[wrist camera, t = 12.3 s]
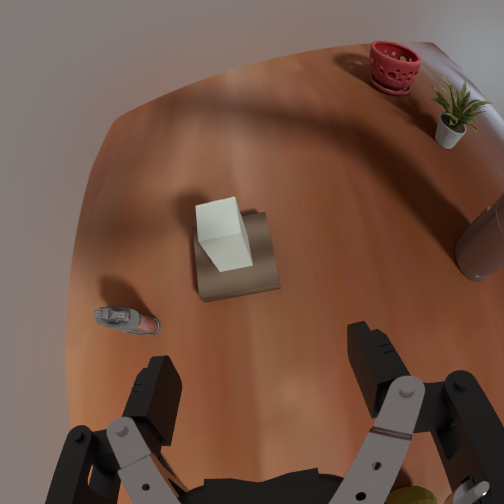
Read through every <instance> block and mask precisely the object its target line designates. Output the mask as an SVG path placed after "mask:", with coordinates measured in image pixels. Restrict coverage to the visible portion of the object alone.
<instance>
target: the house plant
mask: <svg viewBox="0 0 504 504" xmlns="http://www.w3.org/2000/svg"><path fill="white" fill-rule="evenodd" d="M441 76H442V75H441ZM442 77H443V76H442ZM443 78H444V77H443ZM444 79H445V78H444ZM445 80H446V79H445ZM444 82H445V81H444ZM446 82H447V83H448V84H447V85H448V86H449V88H450V91H451V96H452V94H453V97H452V98H451V99H452V104H453V103H454V104H453V109H452V110H453V113H452V111H451V108H450V106H449V104H448V103H447V101H446V100H445V99H444V97H443V96H442V95H441V94H440V92H439V91H438V90H437V89H436V88H435V87H433V86H432V85H431V86H432V88H433V89H434V90H435V92H436V94H437V96H438V98H437V97H435V98H436V99H432V100H433V101H435V102H438V103H440V104H441V105H443V107H444V108H445V110H446V112H442V113H441V114H440V116H439V121H438V126H437V130H436V134H435V139H436V141H437V142H438V143H439V144H440V145H441V146H443V147H444V148H447V149H450V148H452V147H453V146H454V145H455V144H456V143H457V142H458V140H459V139H460V138H461V137H462V136H463V135H464V134H465V132H466V127H465V125H464V124H467V123H466V122H475V121H474V120H473V119H472V118H477V117H476V115H475V114H478V113H481V112H478V113H475V114H474V113H472V112H473V111H476V110H479V109H480V108H483V107H485V106H483V107H479V108H477V109H475V108H476V107H478V106H481V105H484V104H487V103H488V104H492V103H490V102H487V101H480V100H473V101H471V102H469V103H468V104H467V105H466V103H467V101H468V99H469V97H470V91H469V93H467V94H466V96H465V97H464V95H465V92H466V82H465V81H464V85H463V88H462V91H461V94H460V96H459V95H458V92H457V90H456V92H457V97H458V99H457V100H456V95H455V92H454V89H453V87H452V85H451V84H450V83H449V82H448V81H447V80H446ZM439 86H440V85H439ZM440 87H442V86H440ZM442 88H443V87H442ZM455 89H456V88H455ZM443 90H444V91H445V89H444V88H443ZM445 92H446V91H445ZM446 94H447V92H446ZM447 95H448V94H447ZM448 97H449V96H448ZM453 98H454V99H453ZM449 99H450V98H449ZM476 101H480V102H477V103H475V104H473V105H472V106H471V107H470V108H469V109H467V110H466V111H465V112H464V113H463V111H464V109H465V108H466V107H467V106H469V105H470V104H471V103H473V102H476ZM450 102H451V101H450ZM465 105H466V106H465ZM473 109H474V110H473ZM483 112H485V111H483ZM462 113H463V114H462ZM468 125H470V124H468ZM470 126H472V127H473V128H474V130H475V132H476V128H475V127H474V126H473V125H470Z"/></svg>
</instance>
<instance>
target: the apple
mask: <svg viewBox="0 0 504 504" xmlns="http://www.w3.org/2000/svg"><path fill="white" fill-rule="evenodd" d="M385 502H386V503H388V504H437V500H436V497H435V496H434V494H433V493H432V492H430V491H429V490H427V489H425V488H422V487H419V486H412V487H403V488H399V489H397V490H394V491H392V492H391V493H389V494H388V496H387V498H386V500H385Z"/></svg>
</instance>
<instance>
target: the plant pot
mask: <svg viewBox="0 0 504 504" xmlns="http://www.w3.org/2000/svg"><path fill="white" fill-rule="evenodd" d="M378 48H379V50H378ZM385 50H387V52H385ZM392 52H396V55H392ZM387 55H389V56H387ZM401 56H404V57H405V58H406V61H402V60H400V57H401ZM395 58H396V59H395ZM409 59H411V60H412V62H410V61H409ZM420 62H421V60H420V57H419V56H418V55H417V54H416V53H415V52H414V51H412V50H411V49H409V48H407V47H405V46H402V45H400V44H397V43H393V42H388V41H376V42H373V43H372V45H371V50H370V66H371V70H372V73H371V74H370V80H371V82H372V83H373V85H374V86H375V87H377V88H378V89H379V90H381V91H383V92H385V93H388V94H391V95H396V96H402V95H406V94H408V93H409V92H410V90H411V86H410V84H411V83H412V82H413V81H414V79H415V78H416V76H417V73H418V70H419V67H420Z"/></svg>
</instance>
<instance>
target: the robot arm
mask: <svg viewBox="0 0 504 504" xmlns="http://www.w3.org/2000/svg"><path fill="white" fill-rule="evenodd" d="M455 257H456V261H457V264H458V266H459V268H460V270H461V271H462V273H463V274H464V275H465V276H466V277H467V278H469V279H470V280H473V281H481V280H483V279H485V278H487V277H488V276H490V275H492V274H493V273H495V272H497V271H498V270H500V269H501V268H503V267H504V193H503V194H502V196H501V197H500V198H499V199H498V200H497V201H496V202H495V203H494V204H493V205H492V206H491V207H487V208H486V209H485V210H484V211H483V212H482V213H481V214H480V215H479V216H478V217H477V218H476V219H475V220H474V221H473V222H472V223H471V224H470V225H469V226H468V227H467V228H466V229H465V230H464V231H463V236H461V237H460V238H459V240H458V241H457V243H456V247H455ZM347 345H348V357H349V361H350V364H351V367H352V369H353V372H354V374H355V377H356V379H357V382H358V384H359V387H360V389H361V392H362V394H363V397H364V400H365V402H366V405H367V407H368V410H369V413H370V415H371V418H372V419H373V418H376V417H377V420H376V422H375V424H374V426H373V428H371V429H370V431H369V433H368V435H367V437H366V439H365V441H364V443H363V445H362V447H361V449H360V451H359V453H358V454H357V456H356V458H355V460H354V462H353V464H352V466H351V467H350V469H349V471H348V473H347V475H346V476H345V478H343V477H340V476H336V475H331V474H319V473H318V468H313V469H308V470H303V471H297V472H291V473H287V474H284V475H281V476H279V477H276V478H273V479H270V480H267V481H264V482H251V481H244V480H237V479H232V478H228V479H204V485H203V486H199V487H196V488H194V489H192V490H190V491H189V490H188V488H187V487H186V486H185V485H184V484H183V483H182V482H181V480H180V479H179V478H178V476H177V475H176V473H175V472H174V471H173V469H172V468H171V466H170V465H169V463H168V462H167V460H166V459H165V457H164V455H163V454H162V453H161V452H160V451H161V446H171V442H172V437H173V431H174V426H175V421H176V416H177V411H178V406H179V402H180V397H181V392H182V382H181V379H180V376H179V374H178V373H177V371H176V369H175V367H174V365H173V363H172V361H171V359H170V357H169V356H167V355H166V356H155V357H151V359H150V362H149V364H148V367H147V368H143V369H142V371H141V372H140V373H139V374H138V375H137V377H136V380H135V382H134V386H133V388H132V390H131V393H130V396H129V398H128V401H127V404H126V407H125V409H124V412H123V415H122V417H119V418H117V419H115V420H113V421H112V422H111V423H110V424H109V426H108V428H107V429H105V430H100V431H95V432H92V431H91V430H90V429H89V428H88V427H87V426H84V425H79V426H76V427H74V428H73V429H72V430H71V431H70V432H69V433H68V435H67V438H66V441H65V444H64V446H63V449H62V452H61V455H60V458H59V460H58V463H57V466H56V469H55V472H54V475H53V479H52V482H51V485H50V488H49V492H48V495H47V499H46V502H45V504H117V500H118V494H119V489H120V484H121V481H122V483H123V485H124V487H125V489H126V491H127V493H128V495H129V497H130V499H131V501H132V503H133V504H388V503H386V502H385V500H386V498H387V496H388V494H389V492H390V490H391V488H392V486H393V484H394V481H395V479H396V477H397V475H398V472H399V470H400V468H401V465H402V463H403V460H404V458H405V455H406V452H407V450H408V447H409V444H410V442H411V438H412V433H420V432H429V431H430V432H431V434H432V437H433V439H434V442H435V444H436V447H437V450H438V452H439V455H440V458H441V460H442V463H443V466H444V469H445V472H446V475H447V478H448V481H449V484H450V487H451V490H452V493H451V494H450V495H449V496H448V497H447V499H446V500H445V502H444V504H504V427H503V425H502V423H501V421H500V419H499V418H498V416H497V414H496V412H495V410H494V409H493V407H492V405H491V403H490V402H489V400H488V398H487V397H486V395H485V393H484V392H483V390H482V388H481V387H480V385H479V383H478V382H477V380H476V379H475V377H474V376H473V375H472V374H471V373H469V372H467V371H463V370H458V371H454V372H452V373H450V374H449V375H448V376H447V378H446V380H445V381H443V382H435V383H423V382H422V381H421V380H420V379H418V378H416V377H413V376H411V375H410V374H409V372H408V370H407V368H406V367H405V365H404V363H403V362H402V360H401V358H400V356H399V355H398V353H397V351H395V348H394V346H393V345H392V344H391V342H390V340H389V338H388V337H387V335H386V334H384V333H383V332H381V331H380V330H379V329H375V330H372V331H370V329H369V327H368V326H367V324H366V322H365V321H361V322H357V323H353V324H349V325H348V326H347ZM91 465H92V466H93V470H92V474H91V478H90V482H89V485H88V476H89V472H90V469H91Z"/></svg>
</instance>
